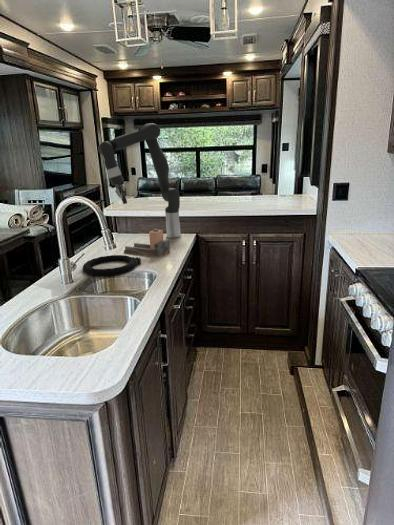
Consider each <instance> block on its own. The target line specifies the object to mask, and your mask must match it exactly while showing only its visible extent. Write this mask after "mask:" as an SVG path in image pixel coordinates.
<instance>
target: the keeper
mask: <svg viewBox="0 0 394 525" xmlns="http://www.w3.org/2000/svg"><path fill="white" fill-rule="evenodd" d="M148 232H149V233H148V236H149V245H150V249H152V250H155V246H154V244H156V243H159V242H161V241H164V240H165V239H164V231H163V229H159V228H153V230H151V231H148Z"/></svg>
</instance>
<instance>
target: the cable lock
mask: <svg viewBox="0 0 394 525" xmlns="http://www.w3.org/2000/svg"><path fill="white" fill-rule="evenodd" d="M104 262H105V263H109V262H123V263H127V264H124V265H121V266H118V267H112V268H94V266H96V265H99V264H105V263H104ZM141 264H142V259H141V257H140V256H139V257H138V256H137V257H134V256H129V255H124V254H113V255H105V256H99V257H96V258H95V257H94V258H92V259H90V260H87V261H86V262H85V263H84V264H83V265H82V270H83V273H85V274H87V275H90V276H95V277H107V276H108V277H110V276H115V275H121V274H123V273H124V274H125V273H128V272H130V271H131V270H133V269H134V268H136V267H137V266H138V265H141ZM92 267H93V268H92Z"/></svg>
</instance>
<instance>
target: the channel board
mask: <svg viewBox="0 0 394 525" xmlns="http://www.w3.org/2000/svg"><path fill="white" fill-rule="evenodd" d="M163 240H164V241H161V242H159V243H156V244H154V246H155V250H152V249H150V243H149V244H148V243H140V242H135V243H134V242H133V246H129V245H127V246H124V250H123V254H131V255H136V256H144V257H153V258H160V257H162V256H164V255H167V254H169V253H171V246H170V245H171V244H170V239H163Z"/></svg>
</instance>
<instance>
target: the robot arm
mask: <svg viewBox="0 0 394 525" xmlns="http://www.w3.org/2000/svg"><path fill="white" fill-rule="evenodd" d="M160 135H161V128H160V126H159V125H158V124H156V123H153V122H151V123H145V124H144V125H143V126H142V129H140V130H137V131H134V132H130V133H126V134H122V135H120V136H117V137H114V138H112V139H110V140H107V141H102V142H100V144H99V145H98V146H97V151H98V154H100V155H101V156H102V157H103V159H104V160H103V162H104V166H105V169H106V172H107V176H108V178H109V181H110V184H111V185H112V186H115V187H114V188H115V190H114V192H115V193H116V195H117V196H118V197H119V198H120V199H121V201H122V204H123V205H127V204H128V201H127V198H126V196H127V188H126V187H124V184H123V183H124V178H123V176H122V171H121V170H120V167H119V165H118V163H117V160H116V156H115V152H117V151H120V150H123V149H126V148H129V147H130V146H133V145H135V144H138V143H141V142H144V141H145V143H146V145H147V148H148V152H149V155H150V158H151V161H152V165H153V168H154V171H155V174H156V178H157V180H158V183H159V188H160V193H161V197H162V199H163V200H164V201H165V202H167V203H168V204H167V207H165V208H164V211H165V228H166V237H167V238H169V239H175V238H176V239H177V238H180V237H181V222H180V206H181V205H180V204H181V203H180V201H181V197H180V196H181V195H180V192H179V190H178V189H177V188H174V187H173V188H172V186H171V185H170V182H169V174H170V167H169V163H168V159H167V157H166V155H165V153H164V152H163V150H162V148H161V147H160V145H159V142H158V138H159V137H160Z"/></svg>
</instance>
